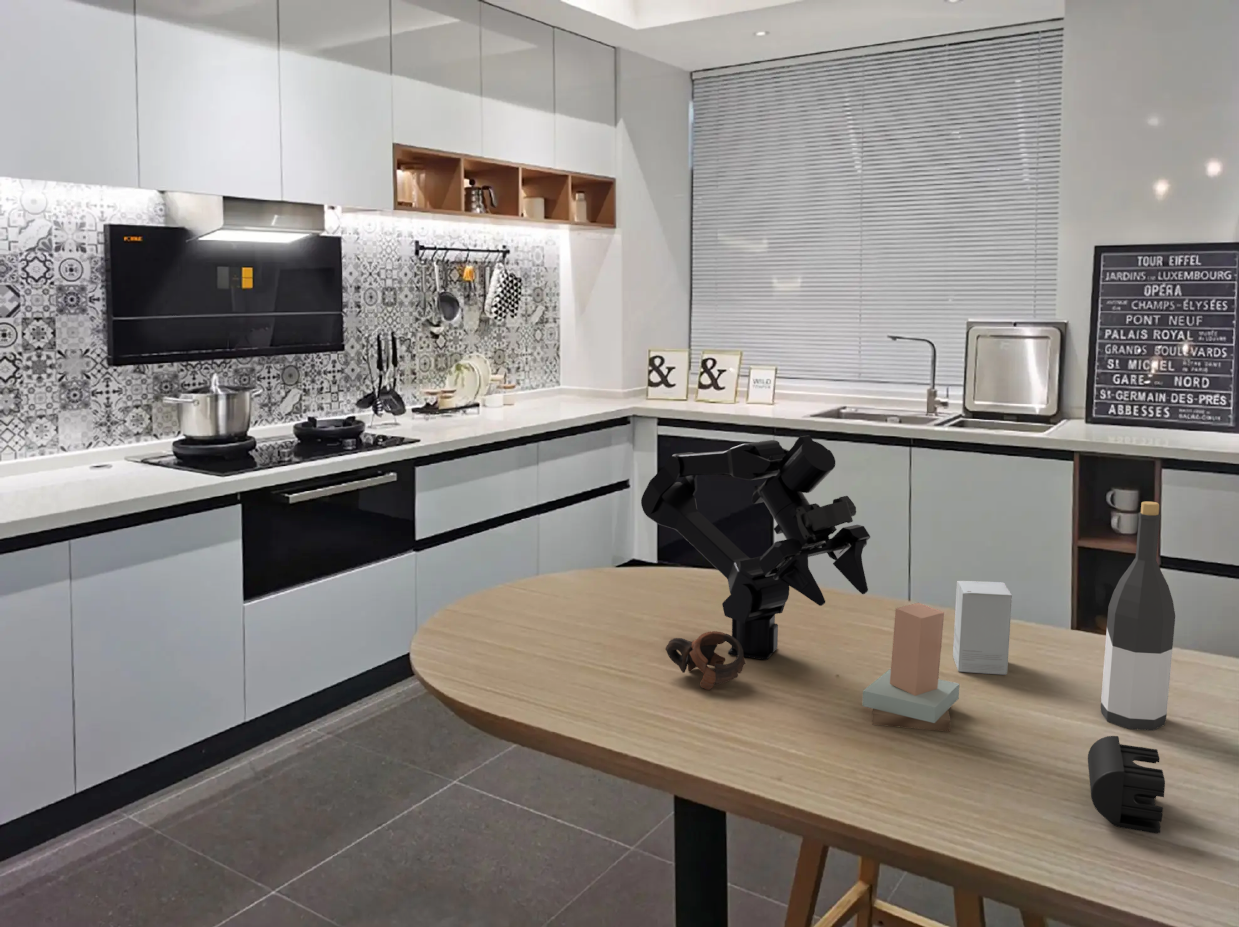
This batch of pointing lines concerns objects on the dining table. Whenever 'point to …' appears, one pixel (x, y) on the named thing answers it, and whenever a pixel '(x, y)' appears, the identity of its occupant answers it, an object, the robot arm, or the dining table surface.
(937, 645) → the terracotta block
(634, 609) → the dining table surface
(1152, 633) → the wine bottle
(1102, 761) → the end cap
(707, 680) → the brown curved piece
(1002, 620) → the supplement box
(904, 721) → the slab lower
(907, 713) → the slab upper
